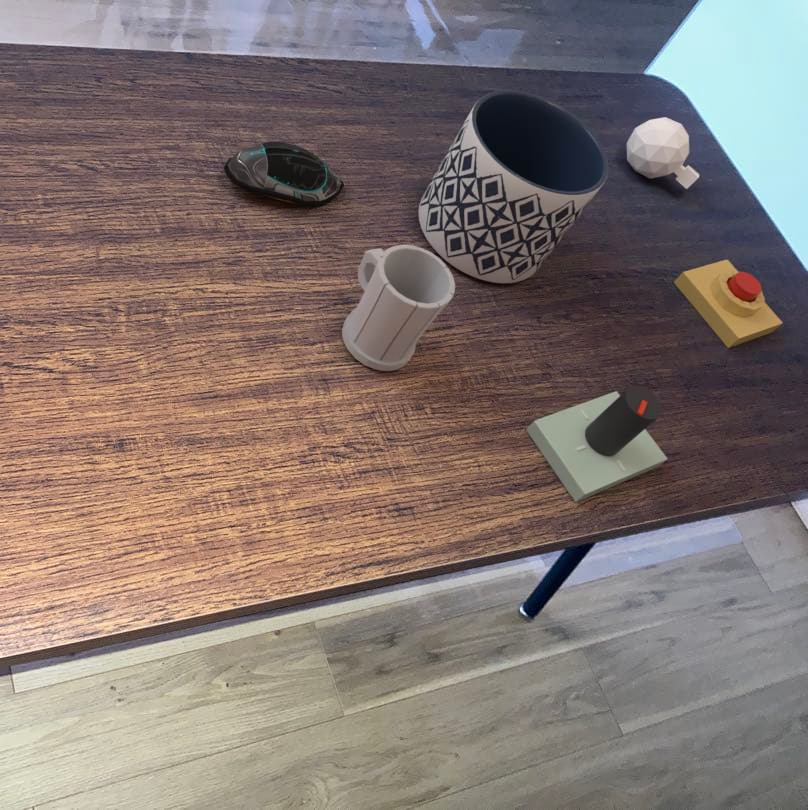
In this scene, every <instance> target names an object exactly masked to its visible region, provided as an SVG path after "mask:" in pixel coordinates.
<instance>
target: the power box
mask: <svg viewBox="0 0 808 810" xmlns="http://www.w3.org/2000/svg"><path fill="white" fill-rule="evenodd" d="M738 272H739V271H738V270H737V268H735V266H734V265H733V264H732V263H731V261H729V259H724V260H723V259H722V260H719V261H717V262H713V263H709V264H706V265H703V266H699V267H696V268H691V269H688V270H686V271H682V273H680V275H678V277H676V279H675V280H674V281H673V284H674V285H675V286H676V287H677V289H678V290H679V291H680V292H681V293H682V294H683V296H684V297H685V298H686V299H687V301H688V302H689V303H690V304H691V306H692V307H693V308H694V309H695V310H696V312H697V313H698V314H699V315H700V316H701V318H702V319H703V320H704V321H705V322H706V324H707V325H708V327H710V328H711V329H712V331H713V332H714V333H715V334H716V335H717V337H718V338H719V339H720V340H721V342H722V343H723V344H724V345H725V346H726V348H727V349H730V348H733V347H736V346H738V345H741V344H744V343H746V342H749V341H753V340H755V339H758V338H761V337H763V336H766V335H768V334H772V333H774V332H775V331H776V330H777V329H778V328H779V327H780V326H782V325H783V324H784V322H783V321H782V320H781V319H780V318H779V317H778V315H777V314H776V313H775V312H774V311H773V310H772V309H771V307H769V305H768V304H767V303H766V299H765V296H764V293H763V290H761V293H760V294H758V295H757V296H756V297H755V298H754V299H753V300H752V301H750V302H745V301H742V300H740V299H739V298H737V297H735V296H734V295H733V294H732V292H731V291H730V290H729V288H728V285H727V284H728V281H729V280H730V279H731V278H732V277H734V276H735V275H736V274H737V273H738Z"/></svg>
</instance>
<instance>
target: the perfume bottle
mask: <svg viewBox="0 0 808 810" xmlns="http://www.w3.org/2000/svg"><path fill="white" fill-rule="evenodd" d="M689 154H690V135H689V134H688V132H687V131H686V129H685V127H684V126H683V124H682V123H680V122H677V121H676V120H673V119H672V118H669V117H667V116H665V117H658V118H652V119H649V120H647V121H645V122H642V123H641V124H640V125H638V126H636V127H635V128H634V129H633V130H632V133H631V135H630V137H629V138H628V139H627V142H626V160H627V162H628V164H629V165H630V167H631V168H632V169H633V171H634V172H636V173H638V174H640V175H642V176H643V177H645V178H647V179H655V178H660V177H661V178H662V177H666V176H669V175H671V174H673V173H674V174H675V175H676V176H675V181H676V182H678V183H679V184H680V185H681V186H682V187H683V188H685V189H686V190H688V189H689V188H690V187H691V186H692V185H693V184H694V183H695V182H697V180H698V179H699V178H700V173H698V172H697V171H696V170H695V169H694V168H693V167H692V166H690V165H689V164H688V165H686V166H684V165H683V164H684V163H685V161H686V159H687V158H688V156H689Z"/></svg>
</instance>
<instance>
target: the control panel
mask: <svg viewBox="0 0 808 810" xmlns="http://www.w3.org/2000/svg"><path fill="white" fill-rule="evenodd" d="M620 395H621V394H620V393H619V392H618V391H617V390H616V391H613V392H610V393H607V394H605V395H602V396H599V397H596V398H593V399H590V400H588V401H585V402H582V403H579V404H577V405H574V406H571V407H568V408H565V409H562V410H560V411H557V412H554V413H552V414H548V415H546V416H544V417H540V418H538V419H535V420H533V421H532V422H531V423H530V424H529V426H528V427H526V429H525V431H526V433H527V434H528V436H529V437H530V438H531V440H532V442H533V443H534V444H535V446H536V447H537V448H538V450H539V451H540V453H541V454H542V456H543V457H544V459H545V460H546V462H547V463H548V465H549V467H550V468H551V469H552V470H553V472H554V473H555V475H556V476H557V478H558V479H559V481H560V482H561V484H562V486H564V488H565V489H566V491H567V492H568V494H569V495H570V496H571V498H572V499H573V501H574V502H575V503H578V502H581V501H582V500H585V499H587V498H589V497H592V496H594V495H597V494H598V493H601V492H604V491H606V490H609V489H610V488H613V487H615V486H617V485H619V484H622V483H624V482H627V481H630V480H631V479H633V478H636V477H638V476H641V475H643V474H646V473H647V472H649V471H652V470H654V469H657V468H658V467H660V466H661V465H663V463H665V462H666V461H667V460H668V457H667V456H666V455H665V453H664V451H662V449H661V448H660V447H659V445H658V444H657V443H656V441H655V440H654V438H653V437H652V436H651V435H650V434H649V432H648V430H647V428H646V429H644V430H643V431H642V432H641V433H640V434H639V435H638V436H636V437H635V438H634V439H633V440H632V441H631V442H629V443H628V444H627V445H626V446H625V447H624V448H622V449H621V450H620V451H619V452H618V453H617V454H615V455H613V456H604V455H601V454H599V453H597V452H596V451H595V450H593V449H592V448H591V447H590V445H589V444H588V442H587V440H586V437H585V430H586V428H587V427H588V426H589V425H590V424H591V423H592V422H593V421H594V420H595V419H596V418H597V417H598V416H599V415H600V414H601V413H602V412H603V411H604V410H606V409H607V408H608V407H609V406H610V405H611V404H612V403H613V402H614V401H615V400H616V399H617V398H618V397H619V396H620Z"/></svg>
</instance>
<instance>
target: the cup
mask: <svg viewBox="0 0 808 810" xmlns="http://www.w3.org/2000/svg"><path fill="white" fill-rule="evenodd" d="M357 277H358V284H359V285H360V287H361V288H362V290H363V295H362V296H361V299H360V300H359V303H358V304H357V306H356V308H354V309H352V311H351V312H350V313H349V314H348V315H347V316H346V318H345V320H344V321H343V326H342V328H341V335H342V341H343V343H344V346H345V347H346V349H347V351H348V352H349V353H350V355H352V357H353V358H354V359H355V360H356V361H358V362H359V363H361V364H362V365H364V366H365V367H368V368H370V369H373V370H376V371H381V372H382V371H383V372H391V371H396V370H397V371H398V370H399V369H401V368H403V367H405V366H406V365H407V364H408V362H409V361H410V360H411V358H412V357H413V355H414V354H415V352H416V348H417V343H418V342H419V340H420V339H421V337H422V336H423V334H424V333H425V332H426V330H427V329H428V328H429V327H430V326H431V325H432V323H433V322H434V321H435V320H436V318H437V317H438V316H439V315H440V314H441V312H443V310H444V309H445V308H446V307H447V305H448V304H449V303H450V301H452V299H453V297H454V296H455V291H456V283H455V279H454V275H453V273H452V271H451V270H450V269H449V267H448V265H446V263H445V262H444V261H443V260H442V259H441V258H440V257H438V256H437V255H435V254H434V253H432V252H431V251H430V250H428V249H425V248H422V247H420V246H416V245H411V244H400V245H393V246H391V247H389V248H387V249H385V250H383V249H382V248H381V247H379V248H372V249H369V250H366V251H365V252H364V254H363V257H362V259H361V262H360V264H359V266H358V268H357Z"/></svg>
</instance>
